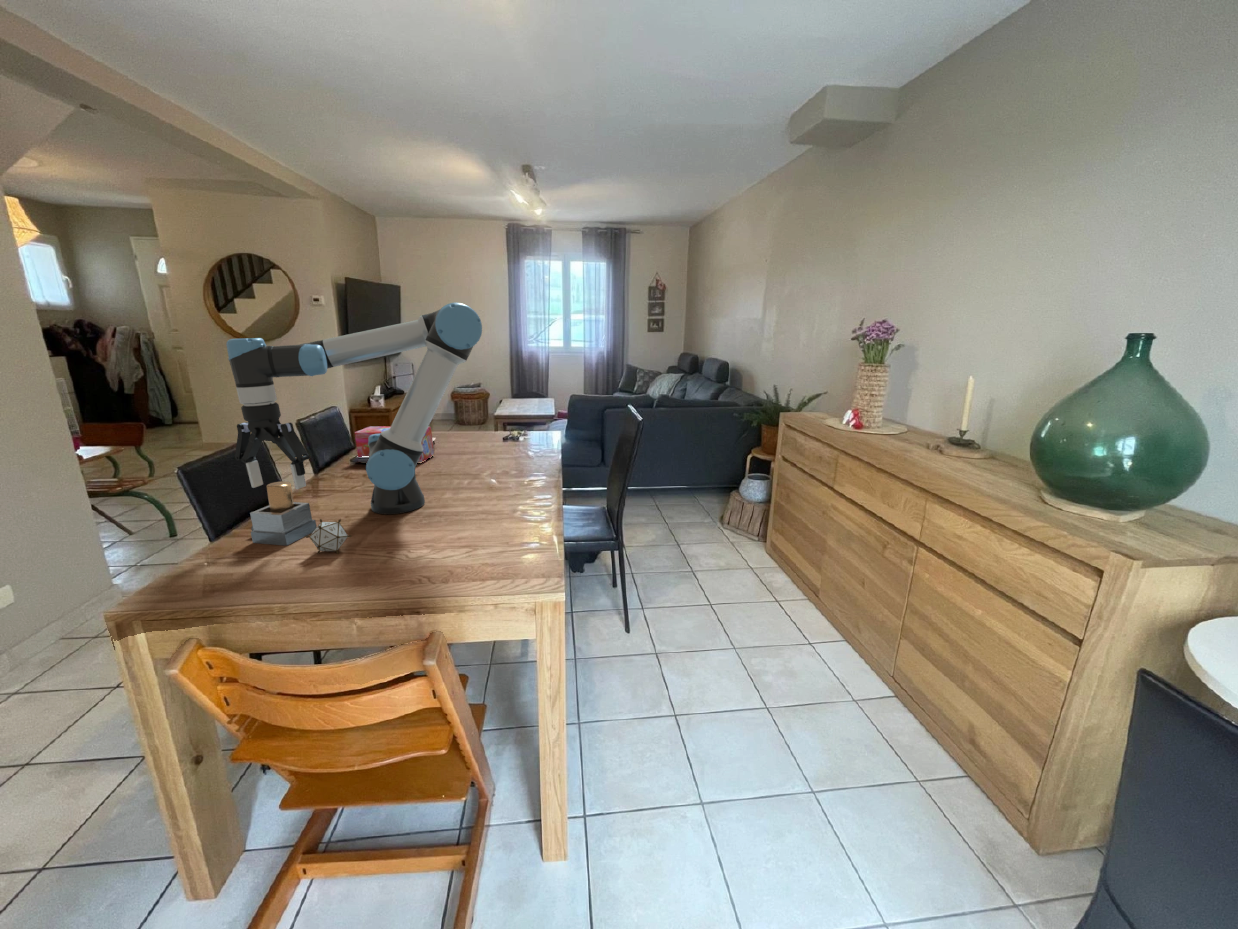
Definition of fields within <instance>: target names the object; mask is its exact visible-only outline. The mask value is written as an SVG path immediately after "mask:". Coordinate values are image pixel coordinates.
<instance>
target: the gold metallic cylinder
mask: <svg viewBox="0 0 1238 929" xmlns="http://www.w3.org/2000/svg"><path fill="white" fill-rule="evenodd" d="M266 491H267V492H266V493H267V499H268V506H270V512H272V513H282V512H285V511H287V510H289V509H292V508H294V502H295V501H294V495H293V488H292V482H290V481H284V480H283V481H274V482H270V483H268V484H267V485H266Z"/></svg>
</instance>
